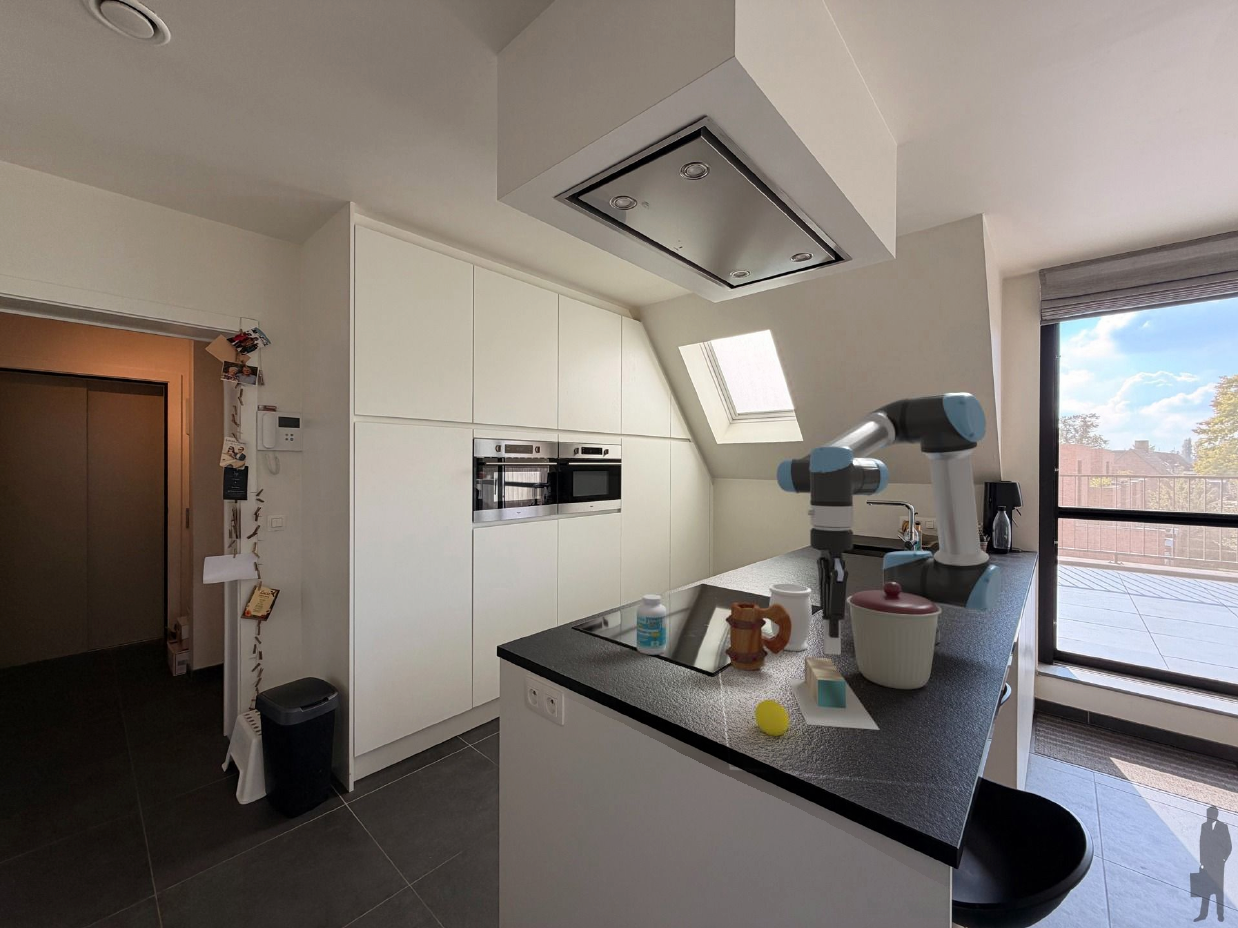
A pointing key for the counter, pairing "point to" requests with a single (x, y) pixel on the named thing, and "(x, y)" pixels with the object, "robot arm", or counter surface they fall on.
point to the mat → (831, 709)
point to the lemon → (772, 717)
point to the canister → (894, 636)
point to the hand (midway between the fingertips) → (832, 652)
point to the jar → (793, 612)
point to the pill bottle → (651, 626)
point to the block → (825, 682)
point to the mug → (755, 634)
